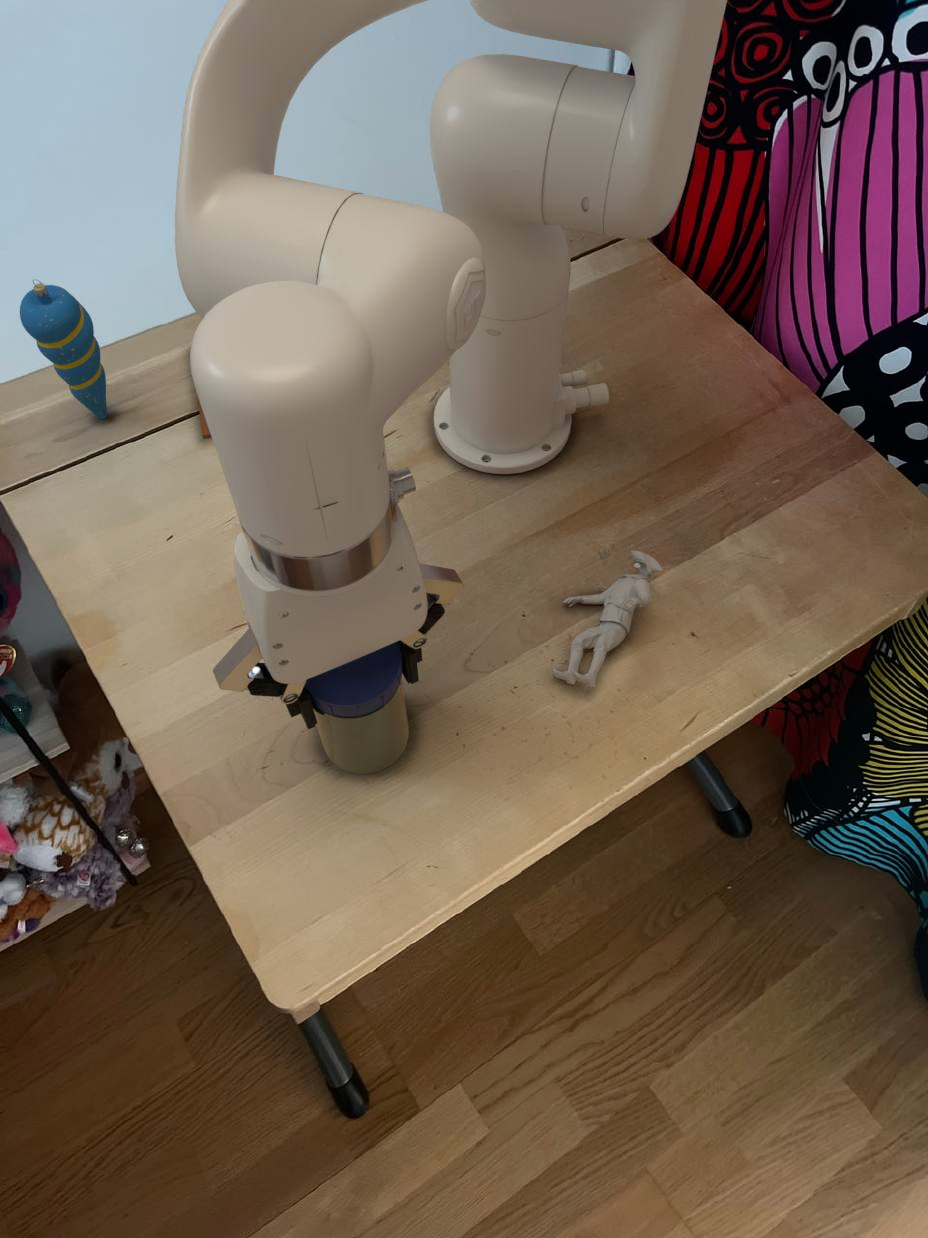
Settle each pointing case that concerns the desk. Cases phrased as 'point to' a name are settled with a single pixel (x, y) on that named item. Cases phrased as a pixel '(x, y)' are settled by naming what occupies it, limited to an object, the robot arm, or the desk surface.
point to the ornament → (67, 342)
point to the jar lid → (358, 683)
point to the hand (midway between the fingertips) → (355, 687)
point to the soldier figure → (610, 619)
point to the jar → (366, 736)
